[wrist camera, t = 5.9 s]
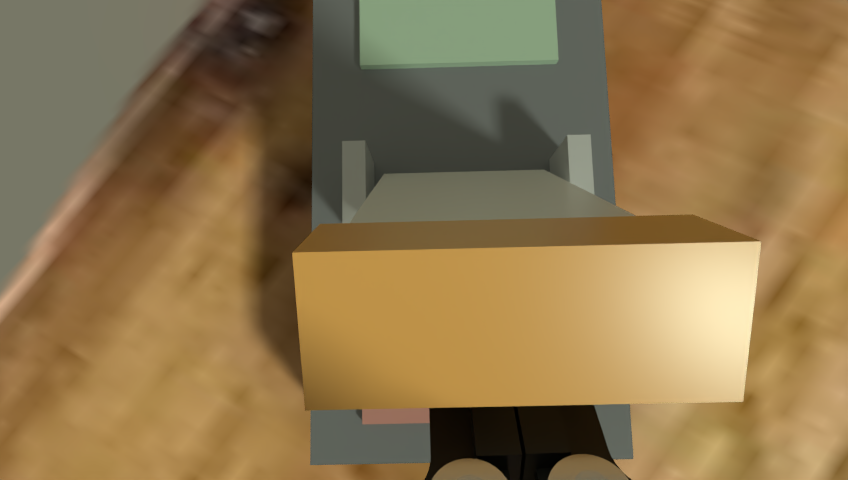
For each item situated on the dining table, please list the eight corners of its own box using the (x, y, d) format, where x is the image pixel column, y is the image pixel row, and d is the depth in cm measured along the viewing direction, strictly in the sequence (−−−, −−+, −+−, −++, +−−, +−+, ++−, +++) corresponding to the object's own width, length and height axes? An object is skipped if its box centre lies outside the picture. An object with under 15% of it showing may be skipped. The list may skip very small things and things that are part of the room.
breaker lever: (379, 161, 21) (291, 253, 8) (546, 157, 21) (760, 240, 8) (382, 223, 22) (305, 410, 8) (545, 218, 22) (742, 401, 8)
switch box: (337, 39, 29) (295, -81, 20) (564, 33, 29) (622, -91, 20) (337, 431, 27) (289, 489, 18) (588, 427, 26) (667, 483, 18)
